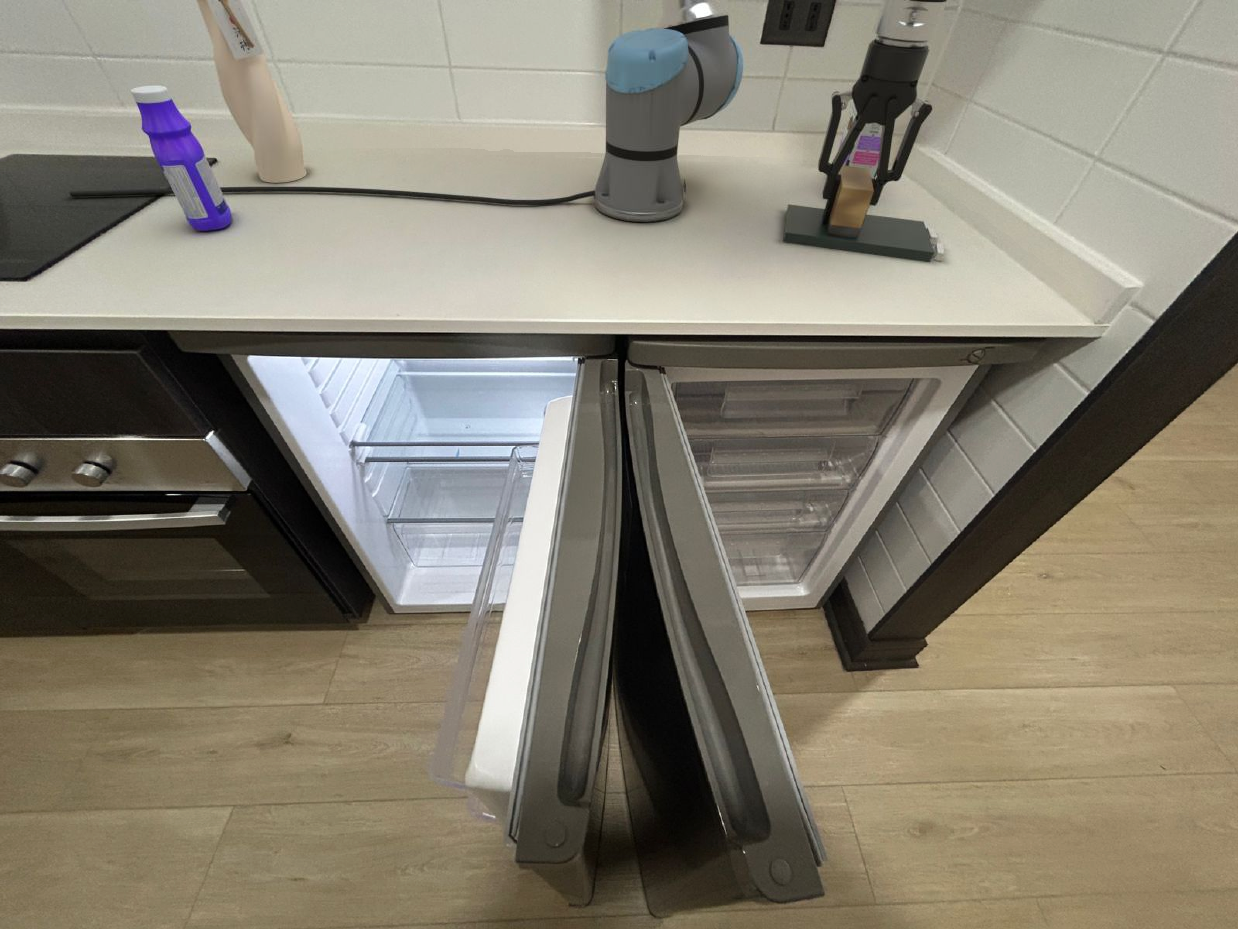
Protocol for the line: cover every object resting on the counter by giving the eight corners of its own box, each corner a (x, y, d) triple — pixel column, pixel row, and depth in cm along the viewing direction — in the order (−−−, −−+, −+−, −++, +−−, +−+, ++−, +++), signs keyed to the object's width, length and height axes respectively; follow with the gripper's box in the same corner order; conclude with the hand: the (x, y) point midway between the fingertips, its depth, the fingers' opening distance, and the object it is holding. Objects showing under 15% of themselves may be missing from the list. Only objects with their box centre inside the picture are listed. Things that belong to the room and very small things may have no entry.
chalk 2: (934, 260, 84) (941, 261, 84) (937, 252, 83) (944, 253, 83) (933, 249, 87) (940, 250, 86) (936, 241, 86) (943, 242, 85)
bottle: (194, 217, 86) (126, 83, 73) (235, 212, 87) (176, 80, 75) (190, 235, 81) (116, 96, 68) (233, 230, 83) (169, 93, 70)
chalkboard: (783, 241, 87) (785, 232, 86) (786, 213, 95) (788, 204, 94) (930, 261, 83) (934, 252, 82) (920, 230, 92) (923, 221, 90)
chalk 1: (928, 244, 88) (934, 244, 88) (931, 236, 87) (938, 237, 87) (924, 233, 91) (930, 234, 91) (927, 226, 90) (933, 227, 90)
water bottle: (326, 175, 100) (260, -33, 80) (282, 189, 94) (198, -30, 74) (291, 163, 103) (218, -39, 83) (245, 176, 98) (156, -36, 78)
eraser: (827, 234, 85) (842, 186, 80) (826, 210, 92) (840, 164, 87) (857, 238, 85) (874, 190, 80) (854, 213, 92) (869, 168, 86)
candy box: (867, 204, 99) (904, 96, 87) (834, 200, 100) (866, 93, 88) (860, 178, 109) (892, 77, 97) (829, 175, 109) (858, 75, 97)
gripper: (832, 39, 70) (785, 224, 87) (978, 52, 68) (901, 239, 84) (831, 30, 75) (786, 206, 92) (966, 42, 73) (896, 220, 90)
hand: (841, 222), depth 88 cm, fingers closed on eraser, 4 cm apart
